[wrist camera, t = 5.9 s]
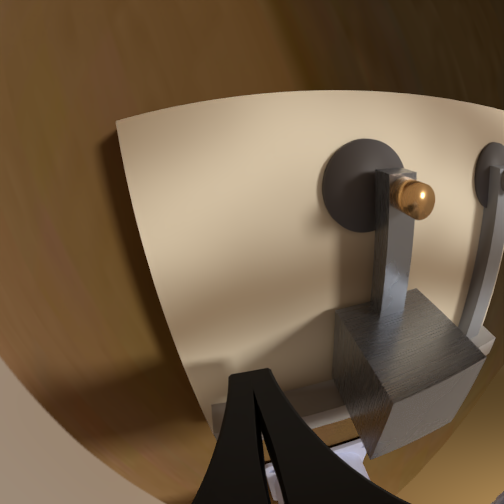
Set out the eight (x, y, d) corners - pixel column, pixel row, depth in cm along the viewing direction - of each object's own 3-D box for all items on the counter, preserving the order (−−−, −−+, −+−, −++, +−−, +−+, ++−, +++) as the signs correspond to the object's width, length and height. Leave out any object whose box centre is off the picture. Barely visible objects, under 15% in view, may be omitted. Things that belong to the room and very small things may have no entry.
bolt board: (461, 341, 15) (485, 367, 13) (211, 415, 14) (215, 460, 11) (496, 110, 9) (539, 118, 7) (126, 121, 8) (95, 120, 5)
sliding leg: (402, 353, 12) (451, 421, 8) (331, 376, 12) (370, 459, 8) (427, 164, 8) (531, 202, 4) (333, 171, 8) (434, 219, 4)
